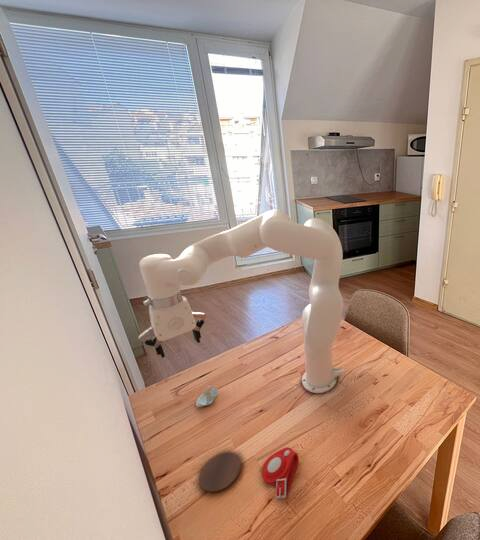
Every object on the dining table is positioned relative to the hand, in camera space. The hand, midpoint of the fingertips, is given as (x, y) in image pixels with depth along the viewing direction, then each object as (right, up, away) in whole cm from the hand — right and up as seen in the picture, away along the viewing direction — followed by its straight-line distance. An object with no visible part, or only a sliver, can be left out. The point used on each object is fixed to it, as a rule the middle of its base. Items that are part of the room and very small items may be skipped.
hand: (180, 347), depth 88 cm
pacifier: (+3, -21, +10) cm, 23 cm away
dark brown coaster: (+17, -30, -10) cm, 36 cm away
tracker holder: (+33, -31, -11) cm, 47 cm away
